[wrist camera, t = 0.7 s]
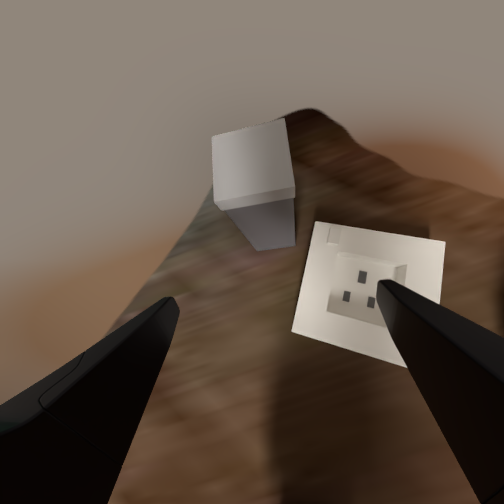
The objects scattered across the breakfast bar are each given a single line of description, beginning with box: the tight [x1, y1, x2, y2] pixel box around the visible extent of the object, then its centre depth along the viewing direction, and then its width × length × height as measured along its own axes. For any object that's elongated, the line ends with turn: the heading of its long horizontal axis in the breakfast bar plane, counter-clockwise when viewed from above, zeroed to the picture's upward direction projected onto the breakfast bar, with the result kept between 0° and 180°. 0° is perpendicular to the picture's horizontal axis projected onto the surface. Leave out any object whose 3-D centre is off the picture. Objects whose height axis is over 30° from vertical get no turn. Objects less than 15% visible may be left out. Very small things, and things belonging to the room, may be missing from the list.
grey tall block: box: [212, 118, 296, 251], centre depth 18 cm, size 5×5×12 cm
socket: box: [291, 221, 445, 368], centre depth 19 cm, size 11×11×3 cm
